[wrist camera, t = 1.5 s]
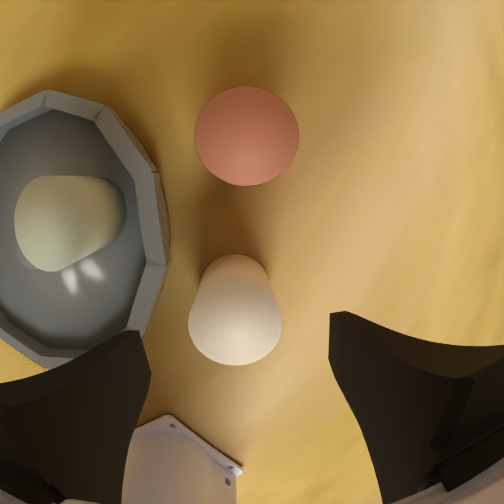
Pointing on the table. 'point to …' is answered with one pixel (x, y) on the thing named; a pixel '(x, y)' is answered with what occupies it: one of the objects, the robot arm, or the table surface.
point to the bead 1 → (246, 135)
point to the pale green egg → (67, 219)
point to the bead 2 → (235, 312)
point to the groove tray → (99, 262)
